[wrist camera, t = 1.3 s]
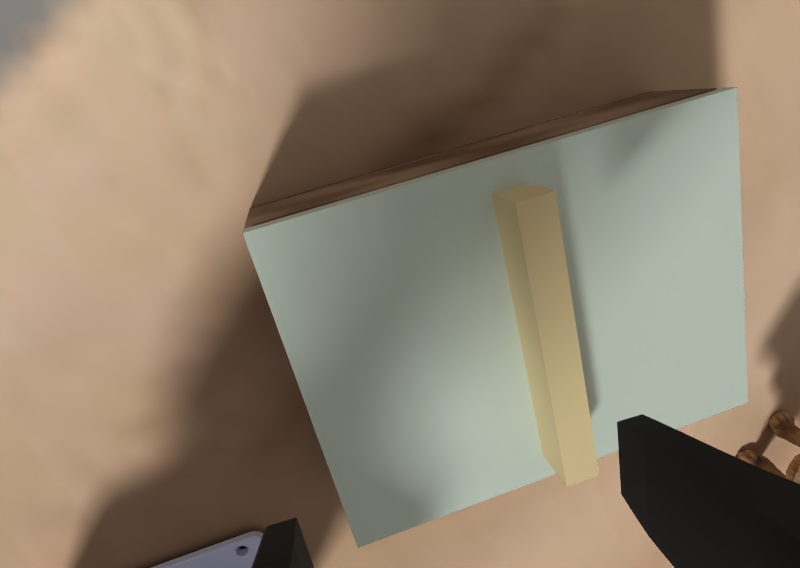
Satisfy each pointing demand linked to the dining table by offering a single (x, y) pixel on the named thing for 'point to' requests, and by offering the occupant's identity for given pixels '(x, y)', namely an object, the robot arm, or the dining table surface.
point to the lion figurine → (784, 429)
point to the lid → (515, 310)
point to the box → (463, 155)
